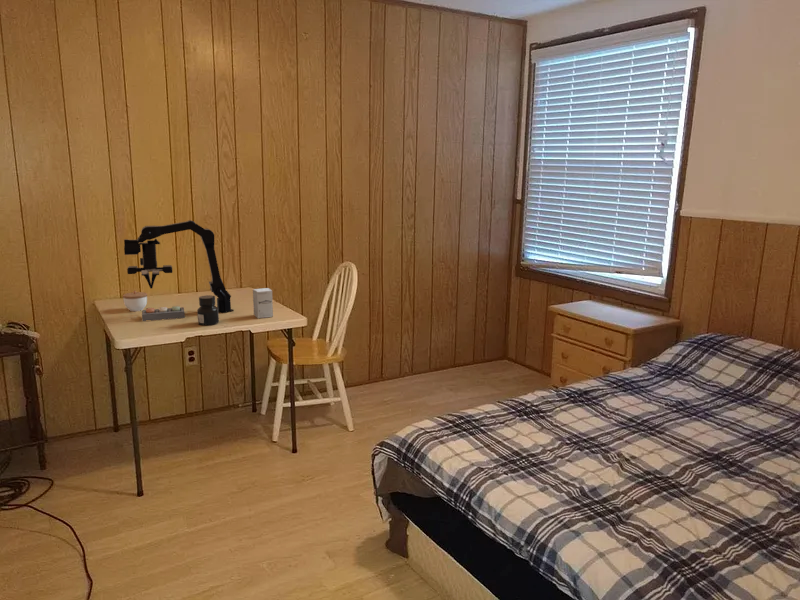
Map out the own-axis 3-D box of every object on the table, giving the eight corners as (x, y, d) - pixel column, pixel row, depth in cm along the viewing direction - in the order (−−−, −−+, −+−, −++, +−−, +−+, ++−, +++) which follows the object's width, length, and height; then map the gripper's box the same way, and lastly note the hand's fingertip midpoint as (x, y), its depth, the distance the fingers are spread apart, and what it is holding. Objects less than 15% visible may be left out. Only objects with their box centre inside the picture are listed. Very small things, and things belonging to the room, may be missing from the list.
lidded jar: (133, 307, 301) (131, 288, 299) (152, 308, 298) (151, 289, 296) (119, 311, 290) (117, 292, 288) (139, 313, 288) (137, 293, 286)
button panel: (184, 313, 288) (183, 307, 288) (184, 317, 280) (184, 311, 279) (143, 316, 282) (142, 310, 281) (142, 321, 274) (141, 314, 273)
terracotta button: (154, 311, 281) (154, 307, 280) (154, 313, 278) (154, 309, 277) (146, 312, 280) (146, 308, 279) (146, 314, 276) (145, 310, 276)
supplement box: (257, 318, 279) (256, 291, 276) (253, 315, 286) (252, 288, 283) (273, 317, 282) (272, 290, 280) (269, 313, 289) (268, 287, 286)
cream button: (167, 310, 283) (167, 306, 282) (167, 312, 279) (167, 308, 279) (159, 311, 281) (158, 307, 281) (159, 313, 278) (158, 309, 278)
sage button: (180, 310, 285) (179, 305, 284) (180, 311, 281) (180, 307, 281) (171, 310, 283) (171, 306, 283) (172, 312, 280) (171, 308, 280)
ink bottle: (199, 321, 274) (197, 295, 272) (219, 320, 276) (218, 294, 274) (197, 326, 265) (195, 299, 263) (218, 325, 267) (216, 298, 265)
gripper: (171, 251, 285) (173, 284, 288) (127, 252, 279) (130, 285, 282) (171, 254, 275) (173, 288, 278) (126, 255, 269) (128, 290, 272)
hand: (151, 288), depth 278 cm, fingers closed
